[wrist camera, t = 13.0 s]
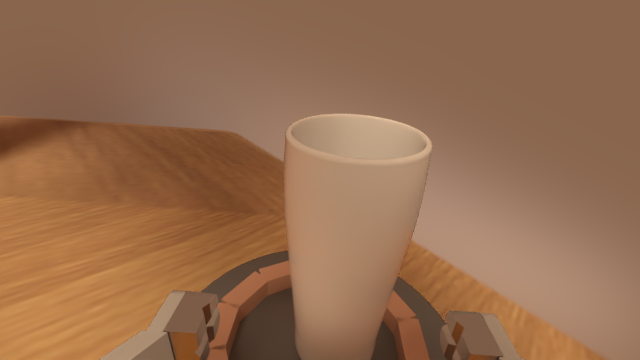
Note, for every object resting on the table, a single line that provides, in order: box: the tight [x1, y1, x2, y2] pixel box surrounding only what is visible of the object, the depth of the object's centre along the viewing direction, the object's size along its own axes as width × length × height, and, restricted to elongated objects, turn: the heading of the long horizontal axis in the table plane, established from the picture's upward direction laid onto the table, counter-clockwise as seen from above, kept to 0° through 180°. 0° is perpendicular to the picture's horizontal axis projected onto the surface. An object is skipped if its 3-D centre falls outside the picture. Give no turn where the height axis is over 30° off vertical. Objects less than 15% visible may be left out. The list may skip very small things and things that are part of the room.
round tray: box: [201, 251, 447, 360], centre depth 20 cm, size 20×20×2 cm
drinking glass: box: [283, 114, 432, 360], centre depth 17 cm, size 7×7×15 cm
